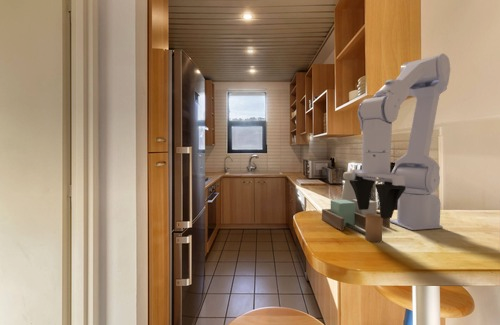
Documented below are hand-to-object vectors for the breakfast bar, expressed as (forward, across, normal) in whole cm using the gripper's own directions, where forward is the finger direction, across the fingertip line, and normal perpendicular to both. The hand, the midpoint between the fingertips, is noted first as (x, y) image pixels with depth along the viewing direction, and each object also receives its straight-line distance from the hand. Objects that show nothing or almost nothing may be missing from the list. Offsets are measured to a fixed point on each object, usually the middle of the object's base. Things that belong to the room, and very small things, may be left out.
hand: (374, 213), depth 59 cm
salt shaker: (+6, -22, +8) cm, 25 cm away
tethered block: (+6, -7, 0) cm, 9 cm away
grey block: (+6, -13, +7) cm, 16 cm away
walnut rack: (+6, -12, +3) cm, 14 cm away
